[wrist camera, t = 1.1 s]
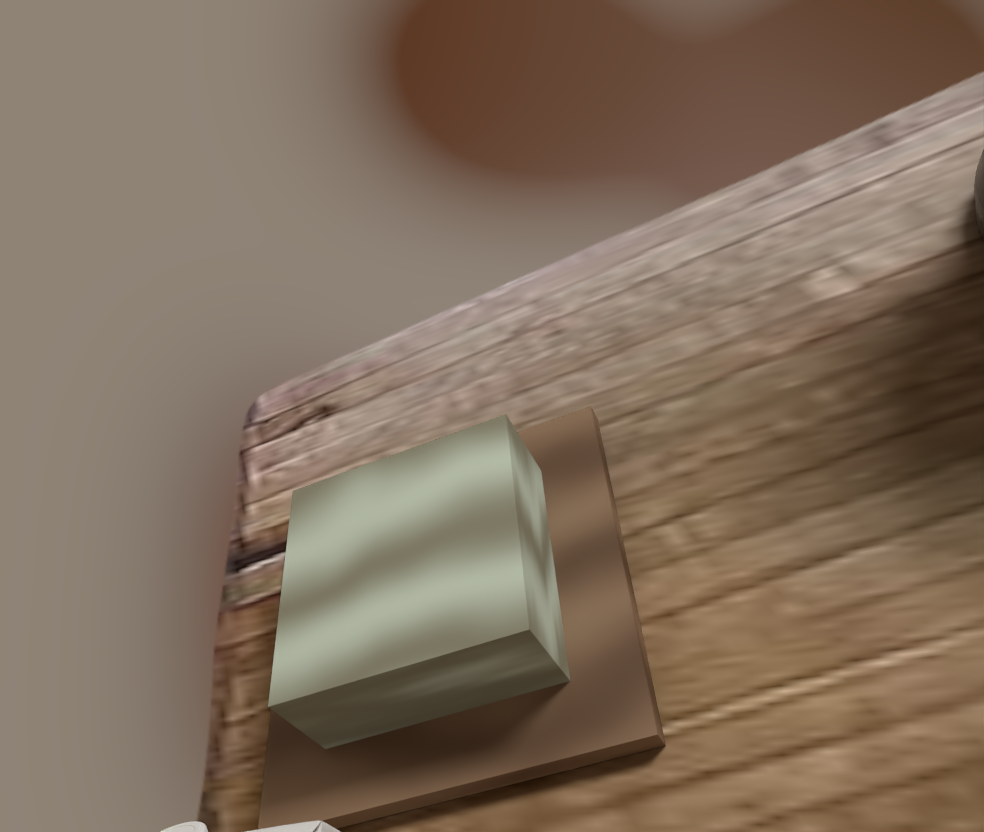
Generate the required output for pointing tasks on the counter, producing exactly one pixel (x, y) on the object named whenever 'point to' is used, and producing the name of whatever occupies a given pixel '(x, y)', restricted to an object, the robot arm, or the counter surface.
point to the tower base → (515, 724)
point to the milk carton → (297, 831)
